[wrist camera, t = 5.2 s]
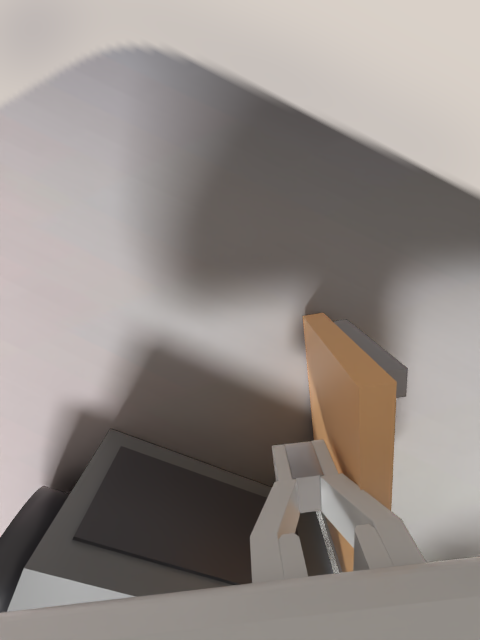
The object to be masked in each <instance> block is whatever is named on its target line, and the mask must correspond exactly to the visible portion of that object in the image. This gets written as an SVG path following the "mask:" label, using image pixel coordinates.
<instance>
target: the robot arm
mask: <svg viewBox="0 0 480 640" xmlns="http://www.w3.org/2000/svg"><path fill="white" fill-rule="evenodd" d="M272 452H273V461H274V469H275V477H276V482H274V484H273V487H272V489H271V491H270V493H269V495H268V498H267V500H266V502H265V504H264V507H263V509H262V511H261V513H260V515H259V518H258V520H257V522H256V524H255V526H254V529H253V531H252V533H251V535H250V551H251V570H252V583H249V584H241V585H232V586H224V587H215V588H207V589H198V590H190V591H181V592H173V593H164V594H155V595H147V596H138V597H130V598H121V599H112V600H104V601H95V602H87V603H78V604H69V605H61V606H52V607H44V608H35V609H26V610H18V611H9V612H1V613H0V640H480V556H478V557H470V558H461V559H453V560H444V561H436V562H426V561H425V559H424V557H423V556H422V554H421V552H420V550H419V549H418V547H417V545H416V544H415V542H414V540H413V538H412V537H411V535H410V533H409V531H408V530H407V528H406V526H405V525H404V523H403V521H402V519H400V518H399V517H398V516H397V515H395V514H394V513H393V512H391V511H390V510H389V509H388V508H386V507H385V506H384V505H382V504H381V503H380V502H379V501H377V500H376V499H375V498H373V497H372V496H371V495H370V494H368V493H367V492H366V491H365V490H360V488H359V486H358V485H357V484H356V483H354V482H353V481H352V480H350V479H349V478H348V477H347V476H345V475H344V474H343V473H340V474H339V473H338V471H337V469H336V466H335V464H334V462H333V459H332V457H331V455H330V453H329V450H328V448H327V446H326V444H325V441H324V440H323V439H321V440H314V441H306V442H299V443H291V444H283V445H273V446H272ZM312 511H322V513H323V514H324V515H325V516H326V517H327V518H328V520H329V521H330V522H331V523H332V524H333V525H334V526H335V528H336V529H337V530H338V531H339V532H340V533H341V534H342V535H343V537H344V538H345V539H346V540H347V541H348V542H349V543H350V545H351V546H352V547H353V548H354V564H353V571H351V572H342V573H334V574H326V575H317V576H309V577H308V574H307V569H306V565H305V560H304V556H303V551H302V547H301V543H300V538H299V536H297V535H296V534H295V531H296V527H297V523H298V520H299V516H300V513H305V512H312Z"/></svg>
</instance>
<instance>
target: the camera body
mask: <svg viewBox="0 0 480 640" xmlns="http://www.w3.org/2000/svg"><path fill="white" fill-rule="evenodd" d="M271 489H272V487H269V486H266V485H264V484H261V483H258V482H255V481H253V480H250V479H247V478H244V477H242V476H239V475H236V474H233V473H231V472H228V471H225V470H222V469H220V468H217V467H214V466H212V465H209V464H206V463H203V462H201V461H198V460H195V459H192V458H190V457H187V456H184V455H181V454H179V453H176V452H173V451H170V450H168V449H165V448H162V447H159V446H157V445H154V444H151V443H148V442H146V441H143V440H140V439H137V438H135V437H132V436H129V435H126V434H124V433H121V432H118V431H116V430H113V429H110V430H109V432H108V433H107V435H106V437H105V438H104V440H103V441H102V443H101V445H100V446H99V448H98V449H97V451H96V453H95V454H94V456H93V457H92V459H91V461H90V462H89V464H88V466H87V467H86V469H85V470H84V472H83V474H82V475H81V477H80V478H79V480H78V482H77V483H76V485H75V486H74V488H73V490H72V491H71V493H70V494H68V493H65V492H61V491H58V490H55V489H52V488H49V487H45V486H42V487H41V488H39V489H38V490H37V491H36V492H35V493H34V494H33V495H32V496H31V498H30V499H29V500H28V501H27V502H26V504H25V505H24V506H23V507H22V509H21V510H20V511H19V512H18V514H17V515H16V516H15V518H14V519H13V520H12V522H11V523H10V525H9V526H8V527H7V529H6V530H5V532H4V533H3V535H2V536H1V537H0V613H1V612H9V611H18V610H26V609H35V608H44V607H52V606H61V605H69V604H78V603H87V602H95V601H104V600H112V599H121V598H130V597H138V596H147V595H155V594H164V593H173V592H181V591H190V590H198V589H207V588H215V587H224V586H232V585H241V584H249V583H252V570H251V551H250V535H251V533H252V531H253V529H254V526H255V524H256V522H257V520H258V518H259V515H260V513H261V511H262V509H263V507H264V504H265V502H266V500H267V498H268V495H269V493H270V491H271ZM295 534H296V535H297V536H299V538H300V543H301V547H302V551H303V556H304V560H305V565H306V569H307V574H308V577H309V576H317V575H326V574H334V573H333V570H332V566H331V563H330V559H329V556H328V553H327V549H326V546H325V542H324V539H323V535H322V532H321V528H320V525H319V521H318V518H317V514H316V511H312V512H305V513H300V516H299V520H298V523H297V527H296V531H295Z"/></svg>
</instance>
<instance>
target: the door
mask: <svg viewBox="0 0 480 640" xmlns="http://www.w3.org/2000/svg"><path fill="white" fill-rule="evenodd" d="M303 325H304V336H305V347H306V359H307V370H308V381H309V392H310V403H311V414H312V425H313V436H314V440H321V439H323V440H324V441H325V444H326V446H327V448H328V450H329V453H330V455H331V457H332V459H333V462H334V464H335V466H336V469H337V471H338V473H339V474H340V473H343V474H344V475H345V476H347V477H348V478H349V479H350V480H352V481H353V482H354V483H356V484H357V485H358V486H359V488H360V490H365V491H366V492H367V493H368V494H370V495H371V496H372V497H373V498H375V499H376V500H377V501H379V502H380V503H381V504H382V505H384V506H385V507H386V508H388V509H389V510H390V511H391V503H392V480H393V457H394V435H395V412H396V398H399V397H405V396H406V389H407V372H408V368H407V367H405V366H404V365H403V364H402V363H400V362H399V361H398V360H397V359H395V358H394V357H393V356H392V355H390V354H389V353H388V352H387V351H385V350H384V349H383V348H382V347H381V346H379V345H378V344H377V343H376V342H374V341H373V340H372V339H371V338H369V337H368V336H367V335H366V334H364V333H363V332H362V331H361V330H359V329H358V328H357V327H356V326H354V325H353V324H352V323H351V322H349V321H348V320H347V319H345V320H339V321H332V320H330V319H329V318H328V317H327V316H326V315H325V314H324V313H318V314H312V315H306V316H303ZM321 514H322V517H323V520H324V523H325V527H326V530H327V533H328V537H329V540H330V543H331V546H332V550H333V553H334V556H335V559H336V563H337V566H338V569H339V572H340V573H342V572H351V571H353V564H354V548H353V547H352V546H351V545H350V543H349V542H348V541H347V540H346V539H345V538H344V537H343V535H342V534H341V533H340V532H339V531H338V530H337V529H336V528H335V526H334V525H333V524H332V523H331V522H330V521H329V520H328V518H327V517H326V516H325V515H324V514H323V513H322V511H321Z"/></svg>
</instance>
